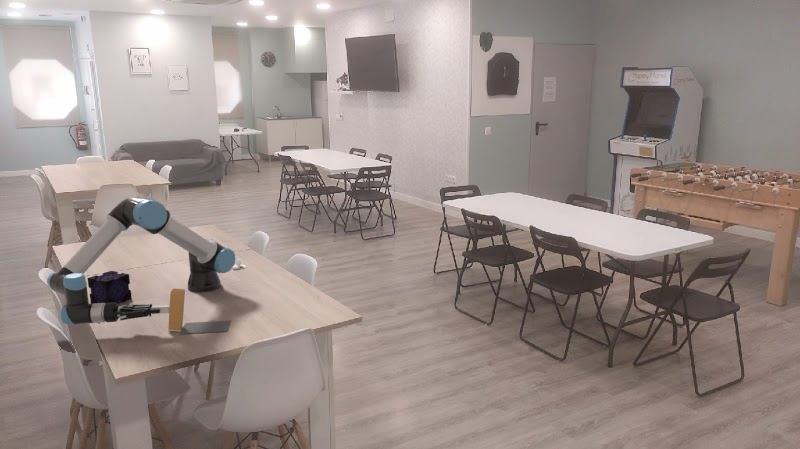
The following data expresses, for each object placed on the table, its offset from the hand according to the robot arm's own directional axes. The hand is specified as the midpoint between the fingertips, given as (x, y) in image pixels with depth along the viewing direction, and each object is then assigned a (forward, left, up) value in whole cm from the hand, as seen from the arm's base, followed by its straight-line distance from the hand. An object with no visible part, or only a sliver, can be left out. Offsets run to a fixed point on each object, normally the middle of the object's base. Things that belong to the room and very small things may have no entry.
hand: (169, 309), depth 236 cm
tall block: (+1, +1, -9) cm, 9 cm away
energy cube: (-46, +25, -9) cm, 53 cm away
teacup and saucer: (-16, +83, -10) cm, 85 cm away
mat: (+12, +5, -9) cm, 16 cm away
